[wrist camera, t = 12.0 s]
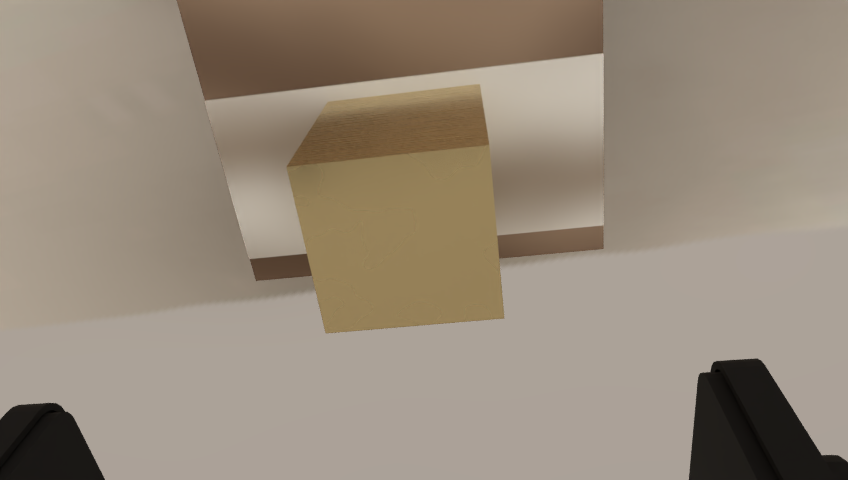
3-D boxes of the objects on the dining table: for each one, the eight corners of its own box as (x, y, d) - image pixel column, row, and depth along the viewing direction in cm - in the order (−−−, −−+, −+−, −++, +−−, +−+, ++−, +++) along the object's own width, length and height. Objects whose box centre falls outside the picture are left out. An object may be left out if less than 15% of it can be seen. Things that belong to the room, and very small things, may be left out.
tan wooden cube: (479, 83, 21) (489, 144, 16) (491, 223, 23) (504, 318, 18) (327, 101, 21) (286, 166, 16) (354, 236, 24) (325, 333, 18)
